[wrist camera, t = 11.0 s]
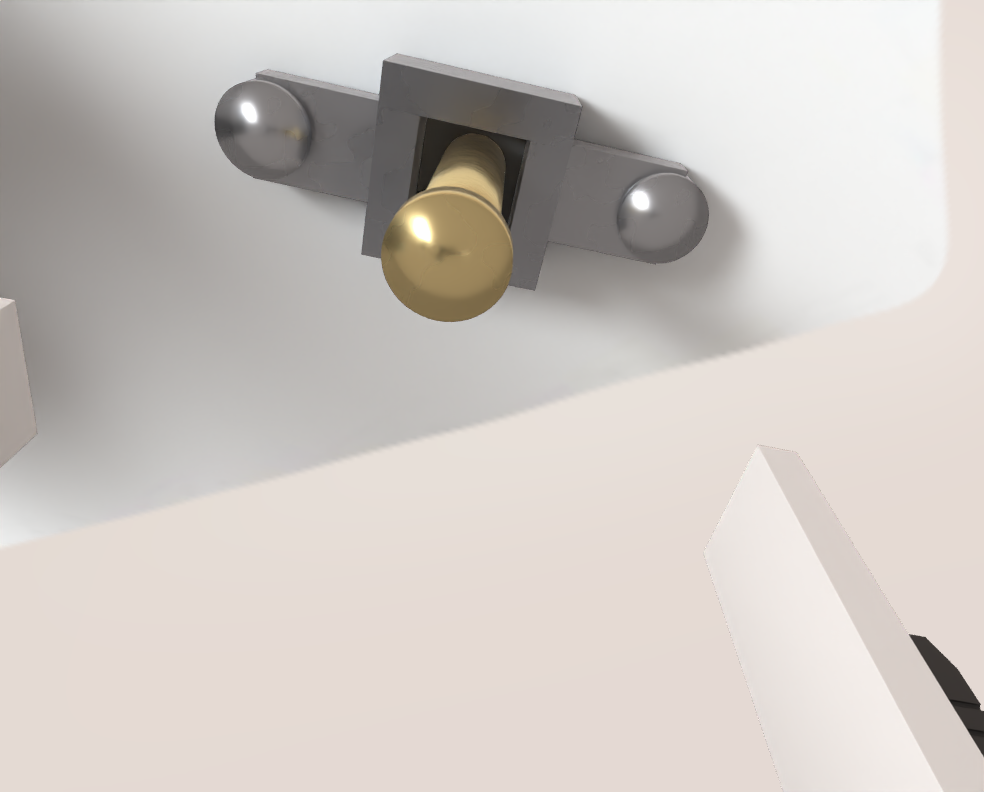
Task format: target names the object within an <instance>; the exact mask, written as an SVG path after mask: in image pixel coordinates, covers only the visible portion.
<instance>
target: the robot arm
mask: <svg viewBox="0 0 984 792" xmlns="http://www.w3.org/2000/svg"><path fill="white" fill-rule="evenodd" d="M36 434H38V433H37V427H36V421H35V415H34V409H33V404H32V398H31V392H30V386H29V380H28V374H27V368H26V362H25V356H24V350H23V344H22V338H21V332H20V326H19V320H18V314H17V308H16V302H15V300H11V299H6V298H1V297H0V468H1V467H2V466H3V465H4V464H5V463H6V462H7V461H8V460H9V459H11V458H12V457H13V456H14V455H15V454H16V453H17V452H18V451H19V450H20V449H21V448H22V447H24V446H25V445H26V444H27V443H28V442H29V441H30V440H31V439H32V438H33V437H34V436H35V435H36ZM703 554H704V557H705V560H706V563H707V566H708V569H709V572H710V575H711V578H712V581H713V584H714V587H715V590H716V593H717V596H718V599H719V602H720V605H721V608H722V611H723V614H724V617H725V620H726V623H727V626H728V629H729V632H730V635H731V638H732V641H733V644H734V647H735V650H736V653H737V656H738V659H739V662H740V665H741V668H742V671H743V674H744V677H745V680H746V683H747V686H748V689H749V692H750V695H751V698H752V701H753V704H754V707H755V710H756V713H757V715H758V719H759V721H760V725H761V728H762V731H763V734H764V737H765V740H766V742H767V745H768V748H769V751H770V754H771V757H772V760H773V763H774V766H775V769H776V772H777V775H778V778H779V781H780V784H781V787H782V790H783V792H984V711H981V710H980V705H981V704H980V703H979V701H978V700H977V698H976V696H975V695H974V693H973V692H972V691H971V689H970V687H969V686H968V684H967V683H966V681H965V680H964V678H963V677H962V675H961V674H960V672H959V671H958V669H957V668H956V667H955V666H954V665H953V664H952V663H951V662H950V661H949V660H948V659H947V658H946V657H945V656H944V655H943V654H942V653H941V652H940V651H939V650H938V649H937V648H936V647H935V646H934V645H933V644H932V643H931V642H930V641H929V640H927V638H926V637H921V636H916V635H910V634H908V633H907V631H906V629H905V628H904V626H903V625H902V623H901V621H900V620H899V618H898V616H897V615H896V613H895V612H894V610H893V608H892V607H891V605H890V603H889V602H888V600H887V598H886V597H885V595H884V593H883V592H882V590H881V589H880V587H879V585H878V584H877V582H876V580H875V579H874V577H873V576H872V574H871V572H870V571H869V569H868V568H867V566H866V564H865V562H864V561H863V559H862V558H861V556H860V554H859V553H858V551H857V550H856V548H855V546H854V545H853V543H852V541H851V540H850V538H849V536H848V535H847V533H846V531H845V530H844V528H843V527H842V525H841V523H840V522H839V520H838V518H837V517H836V515H835V513H834V512H833V511H832V509H831V507H830V505H829V504H828V502H827V500H826V499H825V497H824V496H823V494H822V492H821V491H820V489H819V488H818V486H817V484H816V482H815V481H814V480H813V478H812V476H811V475H810V473H809V471H808V469H807V468H806V466H805V464H804V463H803V461H802V460H801V458H800V456H799V455H798V453H797V452H793V451H788V450H783V449H777V448H772V447H767V446H762V445H757V447H756V449H755V451H754V453H753V455H752V457H751V459H750V461H749V463H748V465H747V467H746V469H745V471H744V473H743V475H742V477H741V479H740V481H739V483H738V485H737V487H736V489H735V491H734V493H733V494H732V496H731V498H730V501H729V502H728V504H727V507H726V508H725V510H724V513H723V515H722V516H721V518H720V520H719V522H718V525H717V526H716V528H715V530H714V532H713V535H712V536H711V538H710V540H709V542H708V544H707V546H706V548H705V550H704V552H703Z"/></svg>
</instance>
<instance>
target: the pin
mask: <svg viewBox="0 0 984 792" xmlns="http://www.w3.org/2000/svg"><path fill="white" fill-rule="evenodd" d="M505 171H506V164H505V158H504V155H503V153H502V151H501V149H500V147H499V146H498V145H497V144H496V143H495V142H494V141H493V140H492V139H490V138H489V137H487V136H484V135H481V134H476V133H470V134H465V135H462V136H460V137H458V138H456V139H455V140H453V141H452V142H451V143H450V144H449V146H448V147H447V148H446V150H445V152H444V154H443V156H442V158H441V160H440V162H439V164H438V166H437V168H436V170H435V172H434V174H433V176H432V178H431V180H430V183H429V185H428V187H427V189H426V190H425V191H422V192H420V193H418V194H416V195H415V196H413V197H411V198H410V199H409V200H408V201H406V202H405V203H404V204H403V205H402V206H401V207H400V209H399V210H398V211H397V213H396V214H395V216H394V218H393V219H392V221H391V223H390V225H389V227H388V228H387V230H386V233H385V236H384V239H383V243H382V248H381V261H382V268H383V272H384V275H385V278H386V281H387V283H388V285H389V287H390V288H391V290H392V291H393V293H394V294H395V296H396V297H397V298H398V299H399V300H400V301H401V302H402V303H403V304H404V305H405V306H406V307H408V308H409V309H411V310H412V311H414V312H415V313H417V314H419V315H421V316H424V317H426V318H429V319H433V320H436V321H443V322H456V321H463V320H468V319H471V318H474V317H476V316H478V315H480V314H482V313H484V312H485V311H487V310H488V309H490V308H491V307H492V306H493V305H494V304H495V303H496V302H497V301H498V300H499V299H500V298H501V296H502V295H503V293H504V292H505V290H506V288H507V286H508V284H509V281H510V278H511V274H512V268H513V241H512V237H511V233H510V230H509V227H508V225H507V223H506V221H505V219H504V217H503V216H502V214H501V212H502V202H503V192H504V181H505Z"/></svg>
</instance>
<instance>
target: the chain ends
mask: <svg viewBox="0 0 984 792" xmlns="http://www.w3.org/2000/svg"><path fill="white" fill-rule="evenodd" d="M581 110H582V105H581V103H580V101H579V100H578V98H577V96H576V95H574V94H569V93H565V92H561V91H556V90H552V89H548V88H544V87H539V86H535V85H531V84H526V83H522V82H518V81H513V80H509V79H505V78H501V77H496V76H492V75H488V74H483V73H479V72H475V71H471V70H466V69H462V68H458V67H453V66H449V65H445V64H441V63H436V62H432V61H428V60H423V59H419V58H415V57H410V56H406V55H402V54H398V53H397V54H395V55H393V56H391V57H389V58H387V59H385V60H383V67H382V75H381V84H380V93H379V94H374V93H370V92H366V91H361V90H357V89H352V88H348V87H344V86H339V85H335V84H330V83H326V82H322V81H317V80H313V79H309V78H304V77H300V76H295V75H291V74H287V73H282V72H278V71H273V70H269V69H267V70H264V71H261V72H257V73H256V78H255V79H252V80H249V81H246V82H243V83H240V84H237V85H235V86H233V87H232V88H230V89H229V90H228V91H227V92H226V93H225V94H224V95H223V96H222V98H221V99H220V101H219V103H218V106H217V109H216V113H215V131H216V136H217V139H218V142H219V144H220V146H221V148H222V150H223V152H224V153H225V155H226V156H227V158H228V159H229V160H230V161H231V162H232V163H233V164H234V165H235V166H236V167H237V168H238V169H240V170H241V171H243V172H244V173H246V174H248V175H250V176H253V178H257V179H261V180H266V181H271V182H275V183H280V184H285V185H289V186H294V187H299V188H303V189H308V190H312V191H317V192H322V193H326V194H331V195H336V196H340V197H345V198H350V199H354V200H359V201H364V202H367V209H366V218H365V227H364V235H363V244H362V253H361V254H362V255H367V256H372V257H376V258H381V248H382V243H383V239H384V236H385V233H386V230H387V228H388V227H389V225H390V223H391V221H392V219H393V218H394V216H395V214H396V213H397V211H398V210H399V209H400V207H401V206H402V205H403V204H404V203H405V202H406V201H408V200H409V199H410V198H411V197H413V196H415V195H416V191H417V184H418V177H419V170H420V164H421V157H422V150H423V144H424V137H425V130H426V123H427V118H432V119H436V120H440V121H445V122H449V123H454V124H458V125H463V126H467V127H471V128H476V129H480V130H485V131H489V132H493V133H498V134H502V135H507V136H511V137H516V138H520V139H524V140H526V144H525V149H524V153H523V158H522V162H521V167H520V171H519V176H518V180H517V185H516V189H515V193H514V198H513V202H512V207H511V211H510V216H509V220H508V224H507V225H508V227H509V230H510V233H511V237H512V241H513V268H512V274H511V278H510V281H509V284H508V285H510V286H515V287H520V288H525V289H529V290H534V291H535V288H536V284H537V281H538V277H539V273H540V269H541V265H542V261H543V257H544V253H545V249H546V246H547V242H548V241H550V242H554V243H559V244H564V245H568V246H573V247H577V248H582V249H587V250H591V251H596V252H601V253H605V254H610V255H615V256H619V257H624V258H629V259H633V260H638V261H643V262H647V263H652V264H656V263H668V262H672V261H675V260H677V259H679V258H681V257H683V256H685V255H686V254H688V253H689V252H690V251H692V250H693V249H694V248H695V247H696V246H697V244H698V243H699V242H700V240H701V239H702V237H703V235H704V233H705V231H706V228H707V224H708V218H709V211H708V205H707V201H706V199H705V196H704V195H703V193H702V191H701V190H700V189H699V188H698V187H697V185H696V184H695V183H694V182H693V181H692V180H691V179H690V178H689V177H688V176H687V173H688V170H687V169H686V168H685V167H684V166H683V165H682V164H681V163H677V162H673V161H668V160H664V159H660V158H655V157H651V156H647V155H642V154H638V153H633V152H629V151H625V150H620V149H616V148H611V147H607V146H603V145H598V144H594V143H589V142H585V141H581V140H576V139H574V137H575V133H576V129H577V125H578V121H579V117H580V114H581Z"/></svg>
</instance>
